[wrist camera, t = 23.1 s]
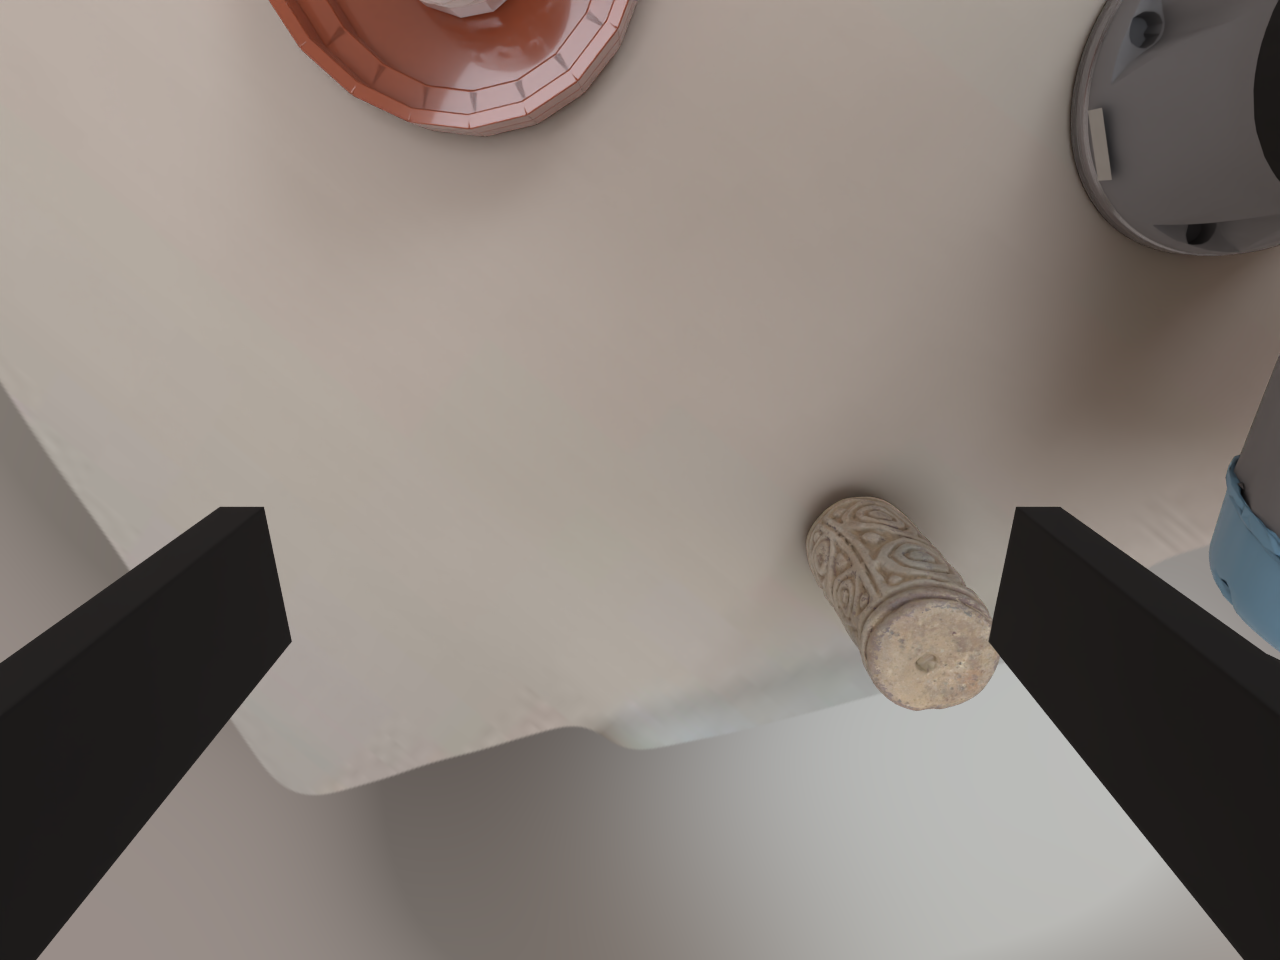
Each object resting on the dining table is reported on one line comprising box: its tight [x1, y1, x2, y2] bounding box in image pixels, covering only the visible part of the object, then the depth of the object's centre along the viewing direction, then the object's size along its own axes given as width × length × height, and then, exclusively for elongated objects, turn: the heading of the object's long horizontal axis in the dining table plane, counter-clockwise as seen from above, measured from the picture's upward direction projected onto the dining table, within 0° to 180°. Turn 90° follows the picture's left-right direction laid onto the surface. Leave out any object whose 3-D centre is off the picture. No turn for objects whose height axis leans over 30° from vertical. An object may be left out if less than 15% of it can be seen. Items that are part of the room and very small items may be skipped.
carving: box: [806, 497, 1000, 711], centre depth 36 cm, size 6×8×12 cm
